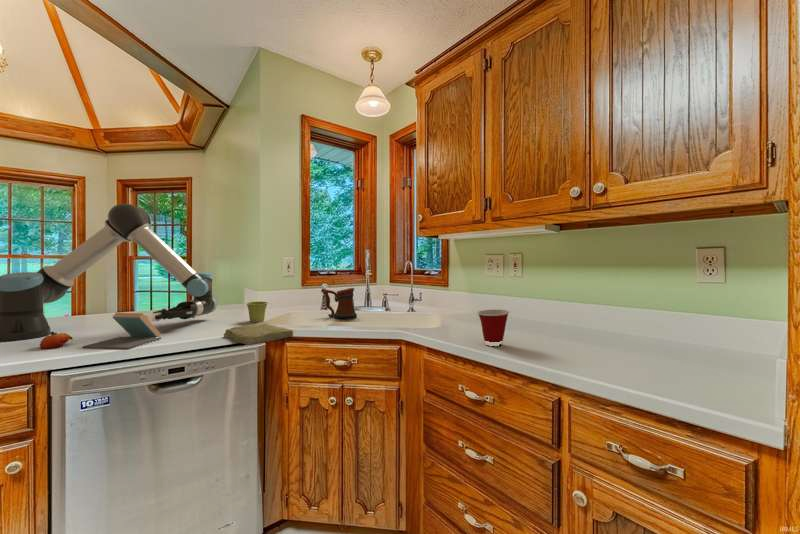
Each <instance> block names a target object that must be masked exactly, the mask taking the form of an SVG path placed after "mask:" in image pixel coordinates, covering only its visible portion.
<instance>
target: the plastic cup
mask: <svg viewBox="0 0 800 534" xmlns="http://www.w3.org/2000/svg"><path fill="white" fill-rule="evenodd" d="M509 313H510V311H509V310H507V309H497V308H496V309H484V310H479V311H477V315H478V316H479V320H480V324H481V331H482V336H483V341H484V340H485V341H489V342H500V341H504V336H505V330H506V325H507V321H508V315H509Z"/></svg>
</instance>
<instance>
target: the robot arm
mask: <svg viewBox="0 0 800 534" xmlns="http://www.w3.org/2000/svg"><path fill="white" fill-rule="evenodd" d="M152 225H153V224H152V217H151V215H150V214H149V212H148V211H146V210H145V209H144V208H142V207H139V206H136V205H133V204H131V203H119V204H116V205H114V206H112V208H110V209H109V212H108V214H107V219H106V220H105V221H104V227H102V228H101V229H100V230H98V231H97V232H95V234H93V235H92V236H90V237H89V238H87V240H85V241H84V242H83V243H81V244H80V245H78V246H76V248H74V249H73V250H72V251H71V252H69V253H68V254H67V255H65V256H63V257H62V258H61V259H59V260H58V261H57V262H56V263H54V264H53V265H44V266H43V267H41V268H40V269H38V270H37V271H36V272H35V271H34V272H33V271H32V272H31V271H27V272H26V271H24V272H15V273H13V272H12V273H11V272H10V273H6V274H1V275H0V342H9V341H10V342H12V341H13V342H14V341H21V340H29V339H36V338H42V337H46V336H49V335H51V334H50V333H51V327H50V325H49V323H48V320H47V318H46V317H45V314H44V304H50V303H54V302H56V301H58V300H60V299H61V298H63V297H64V296H65V295H67V292H68V291H69V290H70V288H72V287H73V286H74V284H75V283H74V280H76V278H78V277H79V276H81V274H83V273H84V272H86V271H87V270H88V269H89V268H91V267H92V266H94V265H95V264H96V263H97V262H99V261H100V260H101V259H103V258H104V257H106V255H108V254H109V253H111V252H112V251H113V250H114V249H115V248H117V247H118V246H120V245H121V244H122V243H123V242H132V241H133V242H134V243H135V244H137V246H138V247H140V248H141V249H142V250H143V251H144V252H145V253H146V254H147V255H149V257H151V258H152V259H153V260H154V261H155V262H156V263H157V264H159V265H160V267H162V268H163V269H164V270H165V271H166V272H167V273H168V274H170V276H172V277H173V278H174V279H175V280H176V281H177V282H178V283H180V284H181V285H182V287H184V288H185V289H186V292H187V293H188V295H190V296H192V297H193V299H191V300H186V301H182V302H179V303H178V304H177V305H176V306H173V307H170V308H168V309H167V308H162V309H158V310H156V311H153V312H152V313H149V314H144V315H145V317H146V318H147V319H148V320H149V321H150V322H151V323H153V322H159V321H161V320H166V319H167V320H171V319H176V318H179V319H180V320H189V319H191V318H192V319H195V318H196V317H198V316H203V315H208V314H211V313H213V312H214V311H216V309H217V307H218V303H217V300H216V299H215V298H214V297H213V274H212V273H211V272H197V271H195V269H194V268H193V267H192V266H190V265H189V264H188V263H187V262H186V261H185V259H183V258H182V257H181V256H180V255H179V254H177V253H176V251H174V250H173V248H171V247H170V245H168V244H167V243H166V242H165V241H164V240H163V239H162V238H161V237H160V236H158V234H157V233H155V232H154V231H153V230H152V229H151V227H152Z"/></svg>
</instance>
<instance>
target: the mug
mask: <svg viewBox="0 0 800 534" xmlns="http://www.w3.org/2000/svg"><path fill="white" fill-rule="evenodd" d="M354 291H355V287H350V288H346V289H340V290H337V291H334V290H329V289H325V288H321V290H320V292H321V293H323V294H324V295H325V299H326V300H325V307H326V308H327V309H328V310H330V312H331V313H328V314H327V316H328V317H329V318H334V319H337V320H352V319H356V318H357V317H358V314H357V313H356V311H355V307H354V300H353V299H354ZM329 294H333V296H334V298H333V299H334V301H335V303H338V304H337V308H336V310H335V309H334V308H333V307H332V306H331V297H330V295H329Z"/></svg>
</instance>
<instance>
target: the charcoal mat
mask: <svg viewBox="0 0 800 534" xmlns="http://www.w3.org/2000/svg"><path fill="white" fill-rule="evenodd" d="M158 339H161V340H162V337H158V338H156V337H132V336H116V337H112V338H109V339H106V340H105V339H104V340H100V341H98V342H94V343H89V344H85V345H82V349H99V348H101V349H102V350H103V349H104V350H105V349H106V350H107V349H109V350H131V349H135V348H137V347H136V346H138V347H140V346H139V345H141V346H143V345H142V344H144V345H146V344H145V343H148V344H150V343H149V342H151V343H153V342H152V341H154V342H156V341H155V340H157V341H159V340H158ZM134 347H135V348H134Z"/></svg>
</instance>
